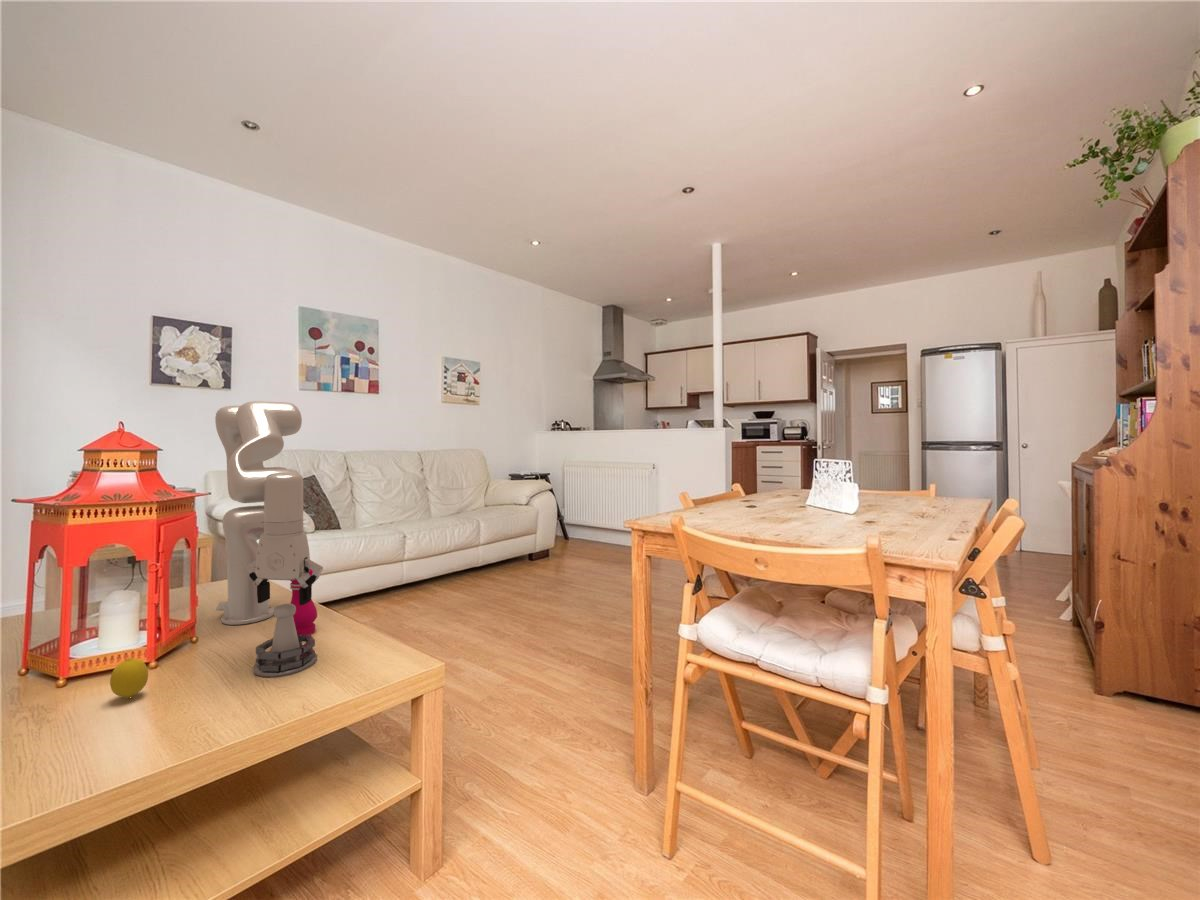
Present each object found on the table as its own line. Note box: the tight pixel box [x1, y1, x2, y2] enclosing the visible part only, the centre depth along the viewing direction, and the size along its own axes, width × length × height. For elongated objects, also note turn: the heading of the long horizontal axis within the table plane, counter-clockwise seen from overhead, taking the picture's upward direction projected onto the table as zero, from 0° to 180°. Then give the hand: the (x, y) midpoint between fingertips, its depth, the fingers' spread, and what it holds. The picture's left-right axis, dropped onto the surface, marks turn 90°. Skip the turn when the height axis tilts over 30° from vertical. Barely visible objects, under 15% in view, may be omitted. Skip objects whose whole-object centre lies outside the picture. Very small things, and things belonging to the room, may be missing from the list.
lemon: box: [109, 657, 149, 699], centre depth 101 cm, size 6×6×8 cm
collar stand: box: [252, 634, 318, 679], centre depth 116 cm, size 12×12×5 cm
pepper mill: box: [289, 569, 318, 635], centre depth 134 cm, size 7×7×20 cm
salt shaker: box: [270, 603, 300, 664], centre depth 116 cm, size 6×6×13 cm
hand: (284, 602), depth 116 cm, fingers open, 9 cm apart
